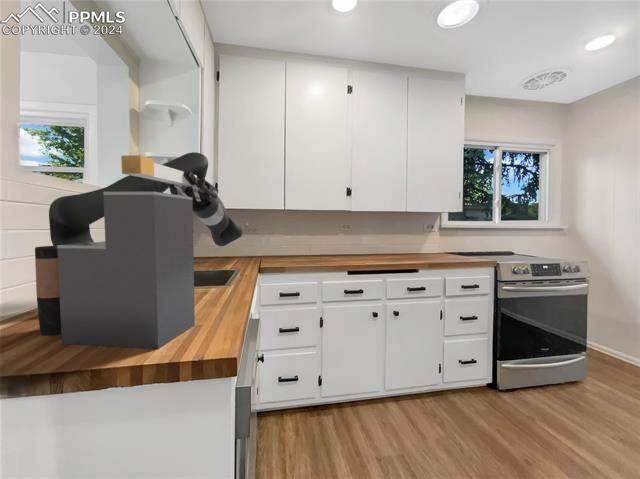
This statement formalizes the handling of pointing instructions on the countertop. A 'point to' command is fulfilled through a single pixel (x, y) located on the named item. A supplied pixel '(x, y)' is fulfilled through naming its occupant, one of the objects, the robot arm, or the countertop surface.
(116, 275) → the grey stepped block
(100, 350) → the countertop surface
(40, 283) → the travel mug
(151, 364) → the countertop surface
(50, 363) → the countertop surface
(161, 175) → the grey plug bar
